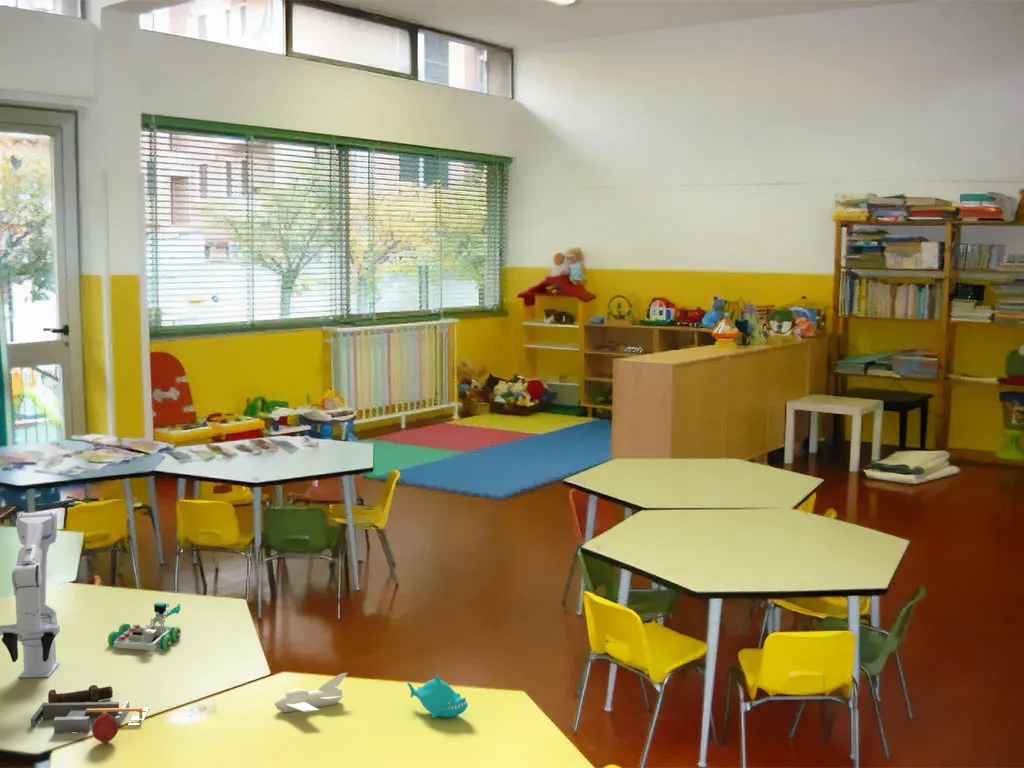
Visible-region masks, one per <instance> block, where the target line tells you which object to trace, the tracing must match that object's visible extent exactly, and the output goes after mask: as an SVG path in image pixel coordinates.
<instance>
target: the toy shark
mask: <svg viewBox="0 0 1024 768" xmlns="http://www.w3.org/2000/svg"><path fill="white" fill-rule="evenodd" d="M407 686H408V688H409V690H410V698H413V697H417V700H419V701H420V704H421V705H422V707H424V708H425V710H426V711H428V712H429V713H430V714H431V718H436V717H437V716H438V717H441V718H453V717H458V716H459V715H461V714H463V713H464V712H465V711H466V710H467V708H468V705H469V704H468V702H467V699H466V697H461V694H460V693H459V692H456V691H455V690H454V689H453V688H452V687H451V686H450V685H449V684H448V683H447V682H446V681H444V680H441V679H440V676H439V674H438V673H436V675H435V678H433V679H430V680H428V681H426V682H425V684H423V685H422V686H417V687H418V688H417V689H415V688H414V687H413V685H412V684H411V683H410V682H407Z"/></svg>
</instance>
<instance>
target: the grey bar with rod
mask: <svg viewBox="0 0 1024 768" xmlns="http://www.w3.org/2000/svg"><path fill="white" fill-rule="evenodd" d="M143 708H144V707H129V708H121V707H120V701H99V702H82V703H48V702H47V703H44V704H43V718H42V719H46V718H50V719H55V717H80V716H90V719H91V718H93V719H94V718H96V719H97V718H98V717H99V716H101V714H102V713H103V712H107V713H108V714H110V715H112V716H113V717H114V718H115V717H116V715H117V714H118V712H127V711H128V712H135V711H139V719H142V718H143ZM128 712H127V713H128ZM46 720H47V719H46Z"/></svg>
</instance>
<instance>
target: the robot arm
mask: <svg viewBox="0 0 1024 768" xmlns="http://www.w3.org/2000/svg"><path fill="white" fill-rule="evenodd" d="M57 516H58V515H57V512H56V511H55V510H52V511H38V512H37V511H36V512H19V513H18V514H17V516H16V532H17V535H18V540H19V541H20V544H21V545H23V546H22V547H21V548H20V549H19V551H18V553H17V554H18V555H17V561H16V565H15V567H13V568H12V572H11V584H12V588H13V596H14V597H15V615H16V618H15V619H16V623H15V624H7V625H6V624H4V625H0V636H2V638H1V642H2V643H3V644H4V646H5V648H6V649H7V650H8V653H9V655H10V657H11V662H12V663H15V662H17V660H18V658H19V649H18V648H19V647H18V642H21V643H20V645H22V654H23V670H22V671H21V672H20V674H19V675H18V678H49V677H50V676H51V675H52V674H53V673H54V671H55V670H56V668H57V667H58V666H59V665H60V663H61V661H58V660H57V652H56V651H57V650H56V648H57V647H56V645H57V644H56V640H55V638H56V637H57V635H58V634H59V633H60V624H58V619H57V611H56V610H55V608H53V607H51V606H50V605H48V604H47V601H46V600H47V574H48V573H47V572H48V570H47V569H48V565H47V563H48V552H49V551H48V550H49V547H50V546H51V545H52V544H53V543H56V541H57V537H58V536H57V535H58V534H57V533H58V532H57V531H58V517H57Z"/></svg>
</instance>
